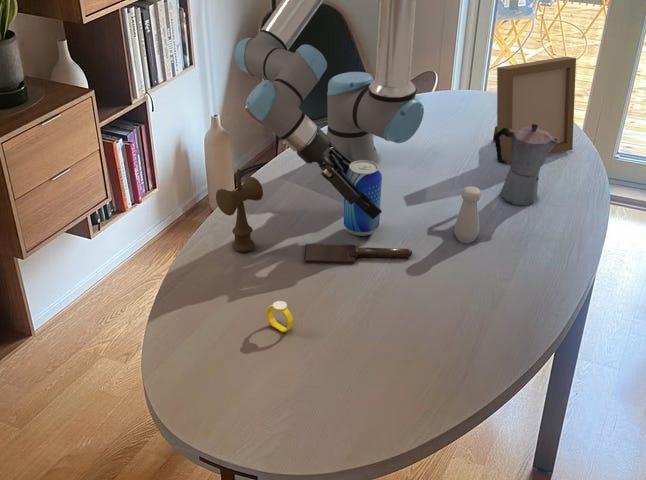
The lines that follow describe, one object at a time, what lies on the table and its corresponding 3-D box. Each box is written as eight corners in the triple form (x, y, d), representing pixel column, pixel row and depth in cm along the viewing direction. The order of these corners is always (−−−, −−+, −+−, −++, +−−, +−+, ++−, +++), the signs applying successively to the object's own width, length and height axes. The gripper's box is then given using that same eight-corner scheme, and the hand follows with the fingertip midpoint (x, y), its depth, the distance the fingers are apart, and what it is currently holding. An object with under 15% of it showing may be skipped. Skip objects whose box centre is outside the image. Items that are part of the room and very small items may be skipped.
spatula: (411, 248, 188) (411, 241, 187) (412, 265, 183) (413, 257, 182) (306, 246, 189) (306, 239, 187) (305, 262, 183) (305, 255, 182)
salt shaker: (463, 229, 195) (470, 180, 188) (483, 238, 192) (490, 189, 184) (448, 238, 192) (453, 188, 184) (467, 247, 189) (474, 198, 181)
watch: (264, 325, 165) (263, 301, 161) (273, 319, 166) (272, 295, 163) (286, 337, 162) (285, 313, 158) (295, 331, 163) (295, 307, 160)
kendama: (218, 251, 186) (211, 172, 174) (249, 235, 192) (245, 157, 180) (236, 261, 183) (230, 181, 171) (267, 244, 189) (264, 165, 177)
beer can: (360, 241, 189) (362, 179, 179) (336, 226, 194) (337, 165, 184) (386, 229, 193) (390, 167, 183) (362, 215, 198) (364, 154, 188)
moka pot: (547, 210, 203) (562, 135, 191) (485, 203, 206) (495, 129, 193) (547, 191, 211) (561, 118, 199) (487, 185, 213) (497, 112, 201)
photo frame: (571, 152, 229) (589, 65, 214) (505, 166, 222) (518, 76, 207) (540, 131, 240) (555, 46, 225) (476, 144, 233) (487, 57, 218)
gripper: (296, 130, 190) (363, 192, 200) (292, 173, 173) (366, 238, 183) (319, 109, 187) (386, 173, 197) (318, 150, 170) (391, 218, 180)
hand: (376, 204), depth 190 cm, fingers closed on beer can, 8 cm apart
